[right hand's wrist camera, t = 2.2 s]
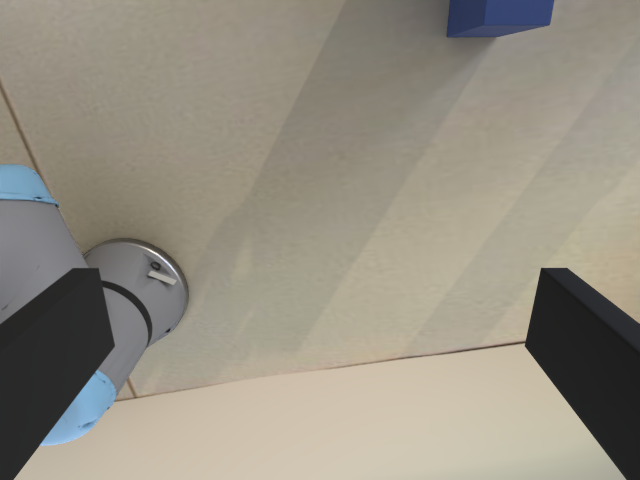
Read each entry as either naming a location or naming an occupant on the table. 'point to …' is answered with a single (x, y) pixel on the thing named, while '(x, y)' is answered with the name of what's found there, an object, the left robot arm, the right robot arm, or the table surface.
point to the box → (496, 17)
